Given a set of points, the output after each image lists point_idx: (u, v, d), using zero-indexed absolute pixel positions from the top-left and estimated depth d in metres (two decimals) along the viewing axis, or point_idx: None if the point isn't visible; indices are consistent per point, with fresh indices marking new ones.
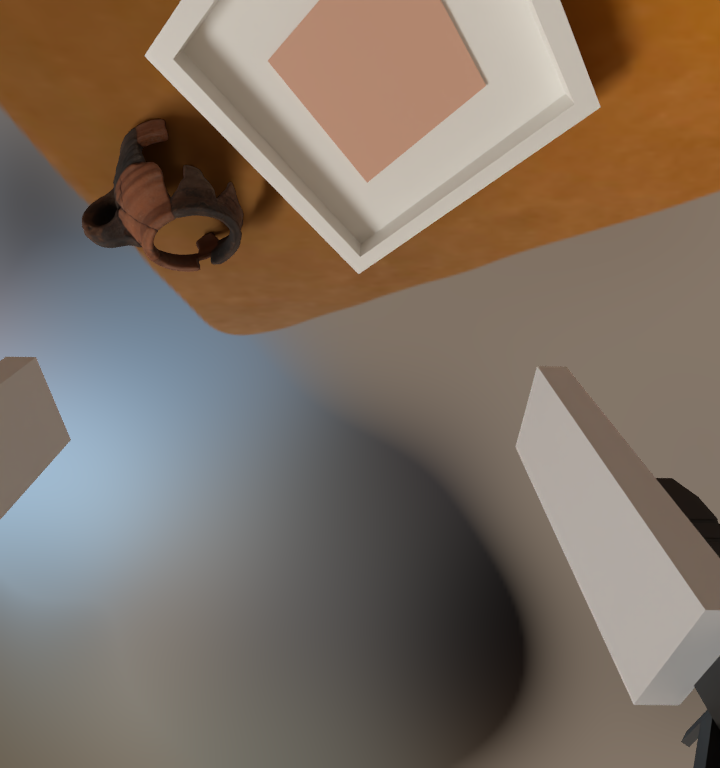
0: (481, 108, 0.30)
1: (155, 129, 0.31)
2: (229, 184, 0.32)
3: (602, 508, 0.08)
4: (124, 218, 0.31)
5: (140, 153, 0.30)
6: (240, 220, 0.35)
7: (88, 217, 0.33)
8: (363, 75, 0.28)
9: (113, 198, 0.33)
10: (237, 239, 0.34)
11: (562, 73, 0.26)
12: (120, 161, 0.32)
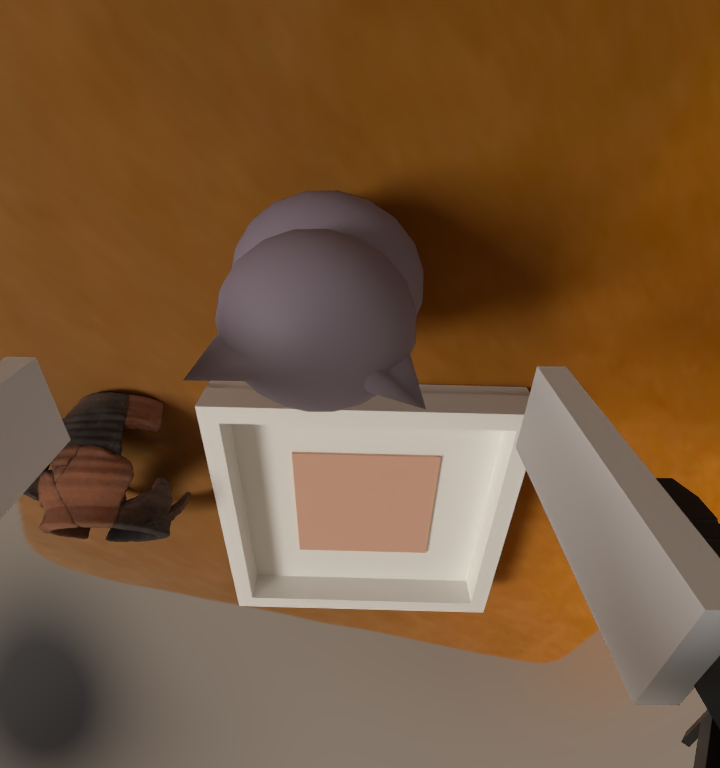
0: (413, 558, 0.35)
1: (151, 418, 0.28)
2: (187, 496, 0.29)
3: (602, 508, 0.08)
4: (47, 486, 0.25)
5: (121, 442, 0.26)
6: None
7: None
8: (353, 500, 0.32)
9: None
10: (155, 539, 0.30)
11: (475, 587, 0.34)
12: (87, 416, 0.27)
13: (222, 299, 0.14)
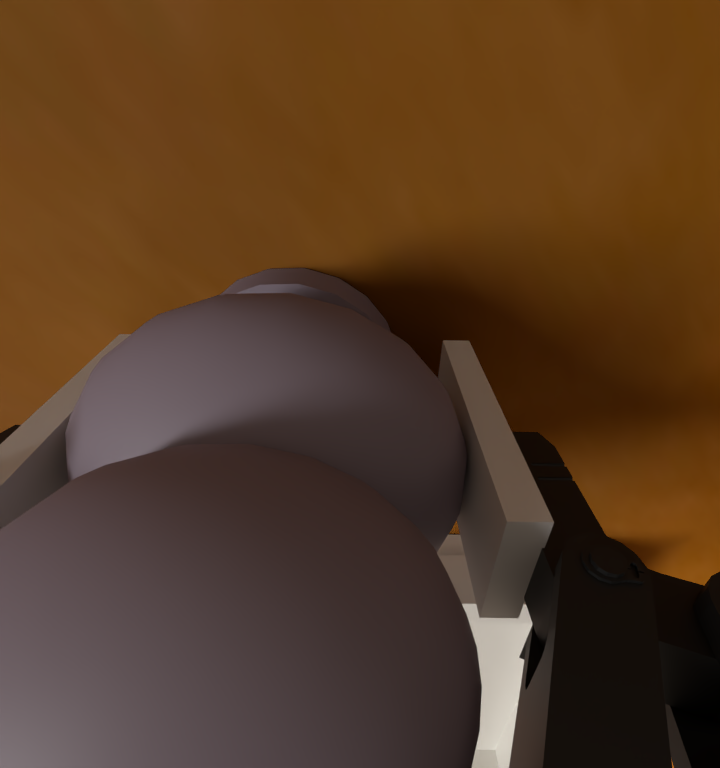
0: None
1: None
2: None
3: (468, 455, 0.09)
4: None
5: None
6: None
7: None
8: None
9: None
10: None
11: None
12: None
13: None
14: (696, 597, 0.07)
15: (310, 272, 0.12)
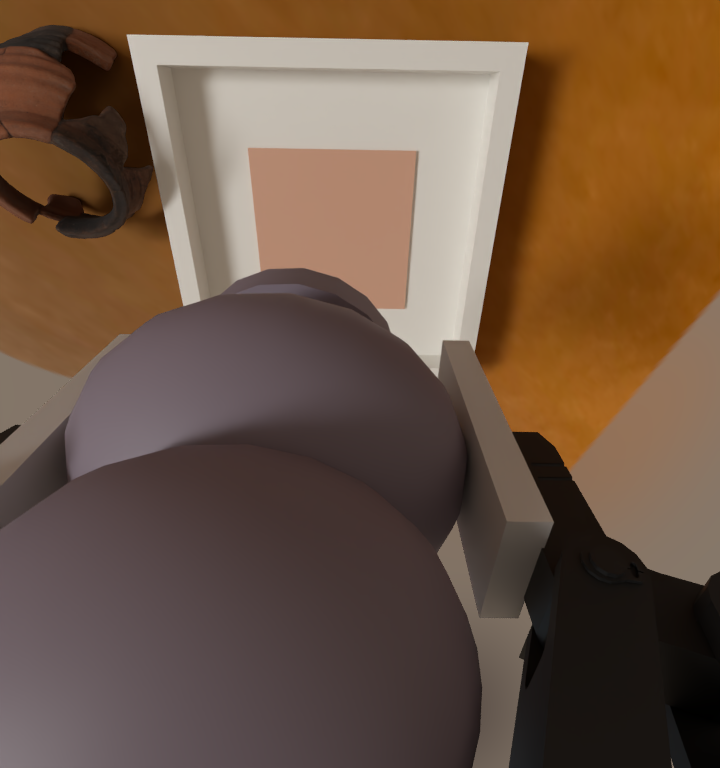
0: (391, 321, 0.32)
1: (99, 50, 0.23)
2: (148, 167, 0.25)
3: (468, 455, 0.09)
4: None
5: (60, 50, 0.22)
6: (132, 211, 0.26)
7: None
8: (321, 227, 0.29)
9: None
10: (113, 226, 0.26)
11: None
12: (21, 38, 0.23)
13: None
14: (696, 597, 0.07)
15: (310, 272, 0.12)
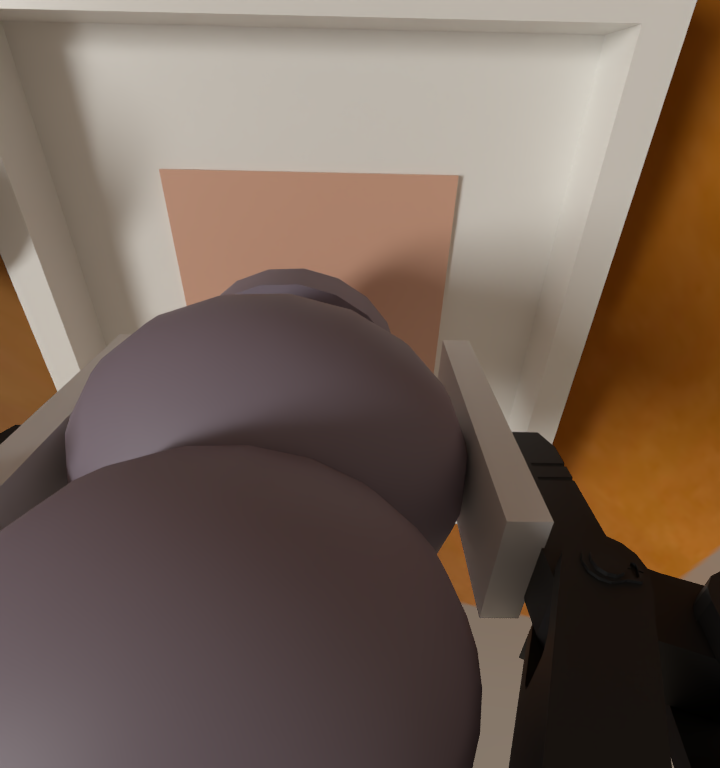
0: None
1: None
2: None
3: (468, 455, 0.09)
4: None
5: None
6: None
7: None
8: None
9: None
10: None
11: None
12: None
13: None
14: (696, 597, 0.07)
15: (310, 272, 0.12)
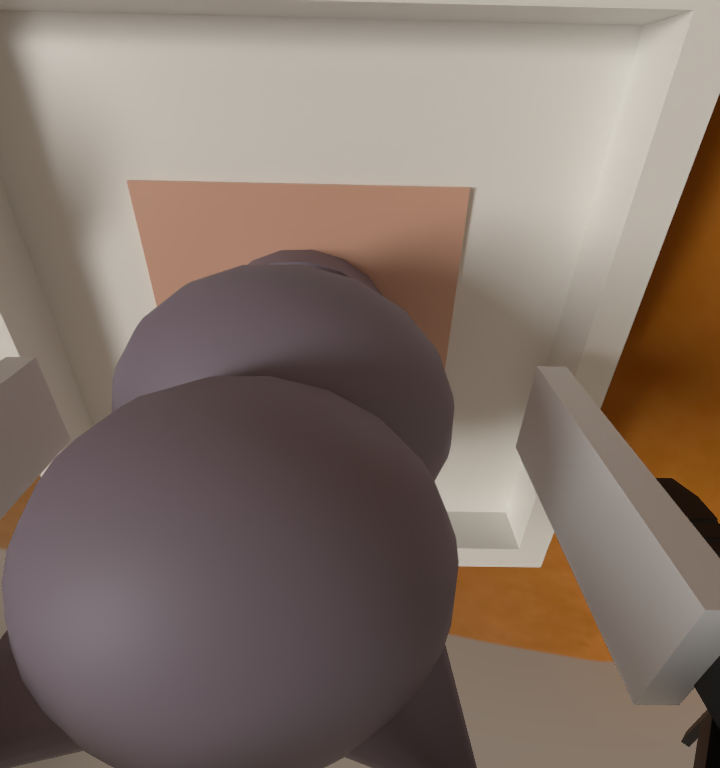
0: None
1: None
2: None
3: (602, 508, 0.08)
4: None
5: None
6: None
7: None
8: None
9: None
10: None
11: (530, 515, 0.18)
12: None
13: (5, 567, 0.06)
14: None
15: (318, 253, 0.14)
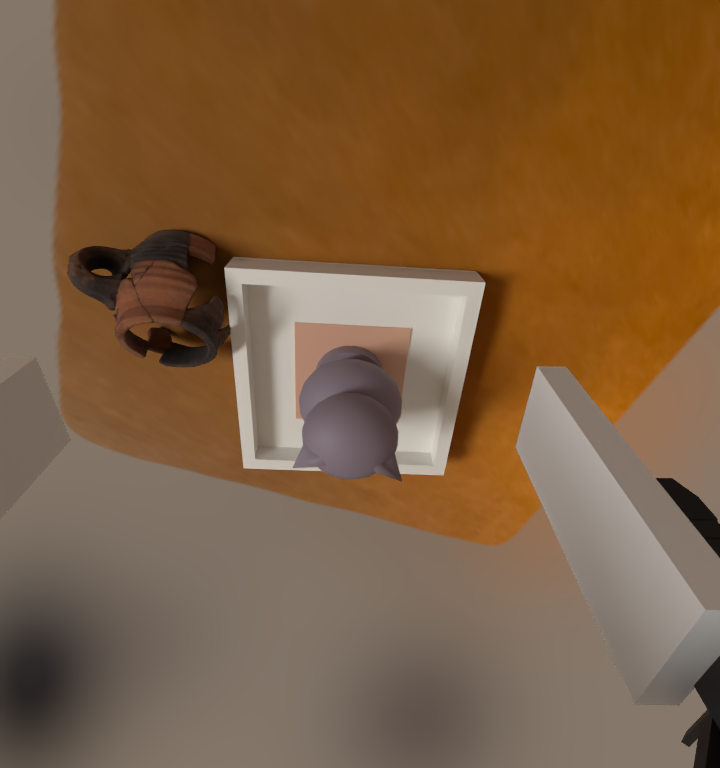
0: None
1: (208, 251, 0.34)
2: None
3: (602, 508, 0.08)
4: (127, 289, 0.31)
5: (187, 261, 0.32)
6: None
7: (85, 256, 0.31)
8: None
9: (119, 257, 0.33)
10: (201, 363, 0.36)
11: (437, 449, 0.43)
12: (156, 244, 0.33)
13: (309, 429, 0.31)
14: None
15: (357, 347, 0.38)
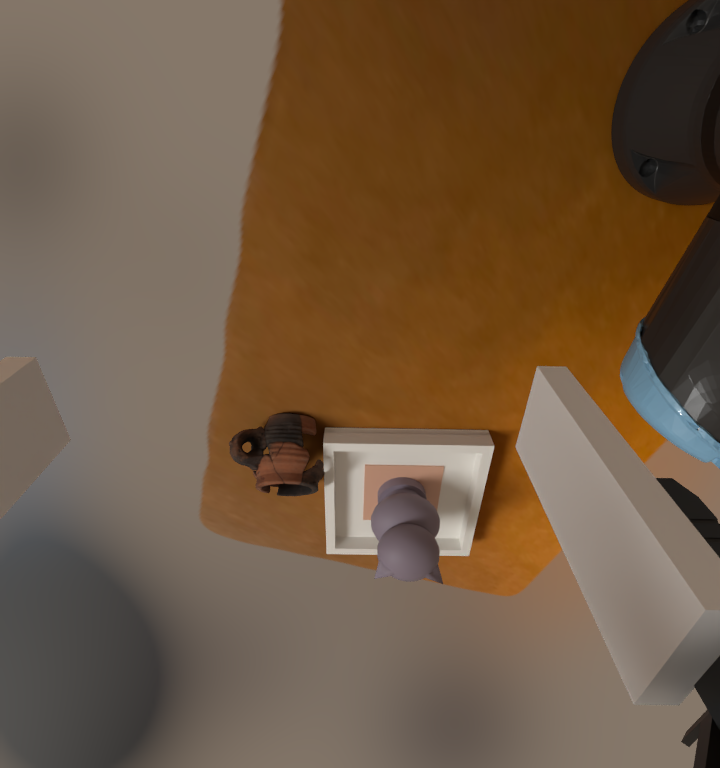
0: None
1: (312, 428, 0.52)
2: None
3: (602, 508, 0.08)
4: (267, 462, 0.49)
5: (302, 440, 0.50)
6: None
7: (240, 442, 0.49)
8: None
9: (257, 436, 0.51)
10: (304, 494, 0.54)
11: (463, 540, 0.60)
12: (281, 426, 0.51)
13: (383, 553, 0.48)
14: None
15: (407, 478, 0.56)
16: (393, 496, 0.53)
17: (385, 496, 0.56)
